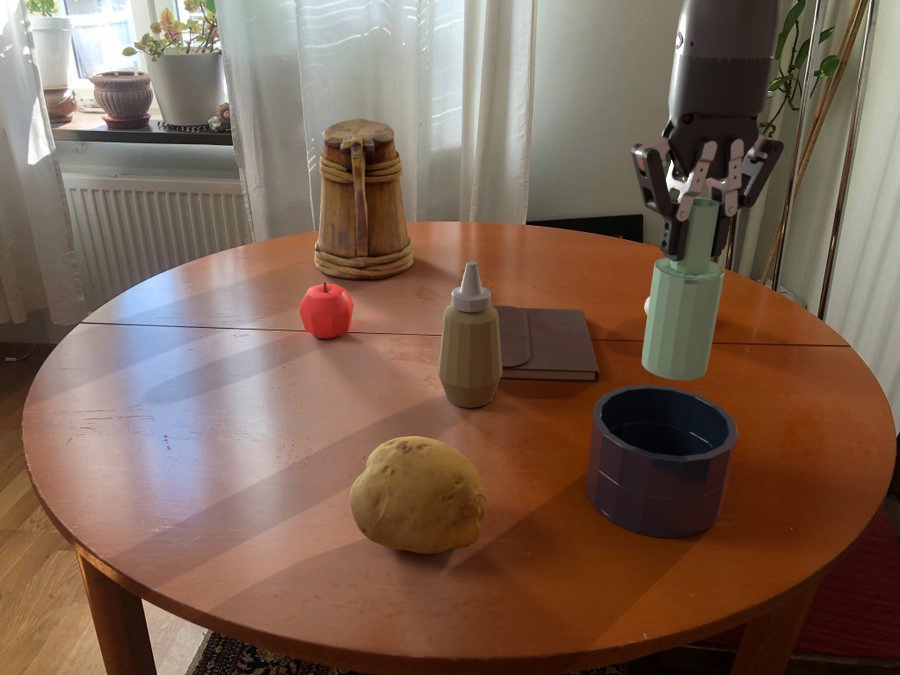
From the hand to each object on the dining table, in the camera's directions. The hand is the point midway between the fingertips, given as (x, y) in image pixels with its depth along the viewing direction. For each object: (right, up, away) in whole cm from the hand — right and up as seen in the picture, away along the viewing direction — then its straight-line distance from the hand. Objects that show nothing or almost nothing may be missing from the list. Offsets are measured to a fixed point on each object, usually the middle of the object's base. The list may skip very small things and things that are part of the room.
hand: (691, 255), depth 66 cm
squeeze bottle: (-19, -15, +28) cm, 37 cm away
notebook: (-9, -9, +41) cm, 43 cm away
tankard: (-37, +5, +69) cm, 78 cm away
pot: (-1, -23, +11) cm, 26 cm away
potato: (-24, -26, +5) cm, 36 cm away
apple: (-40, -7, +45) cm, 60 cm away
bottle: (0, -10, +5) cm, 11 cm away
